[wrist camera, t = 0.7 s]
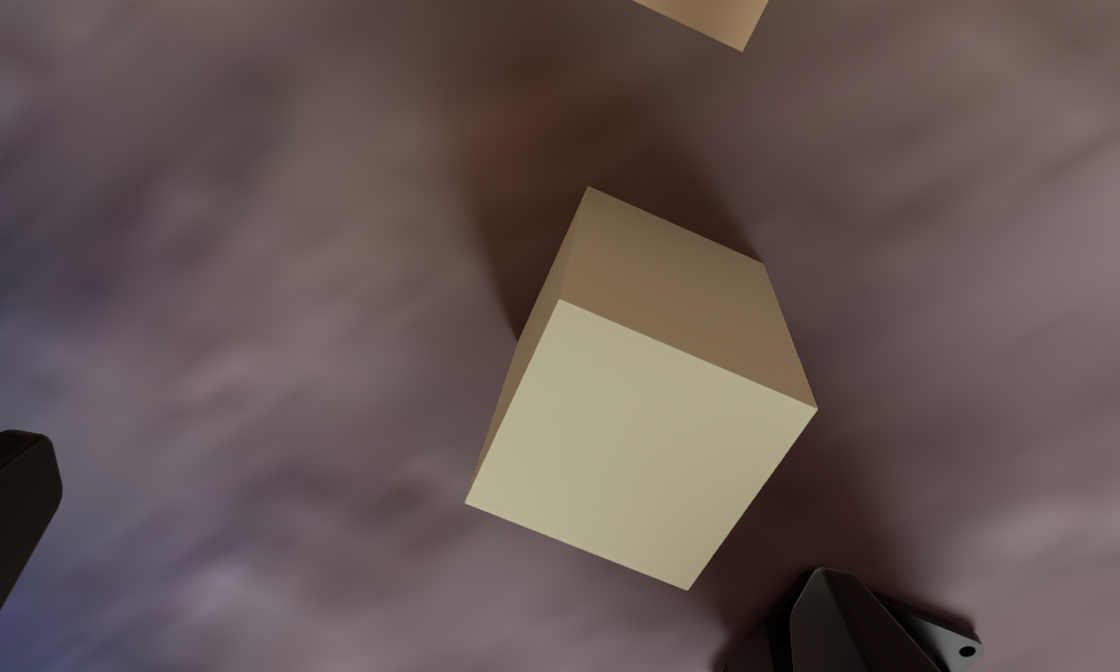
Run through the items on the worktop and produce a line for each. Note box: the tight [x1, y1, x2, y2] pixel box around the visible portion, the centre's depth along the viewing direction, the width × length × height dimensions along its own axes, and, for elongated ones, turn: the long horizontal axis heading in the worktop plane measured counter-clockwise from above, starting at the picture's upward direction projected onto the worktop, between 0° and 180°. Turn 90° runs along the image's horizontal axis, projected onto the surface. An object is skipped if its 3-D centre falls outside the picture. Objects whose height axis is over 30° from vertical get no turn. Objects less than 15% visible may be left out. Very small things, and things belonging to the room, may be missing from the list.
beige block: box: [465, 186, 818, 591], centre depth 17 cm, size 5×5×7 cm
